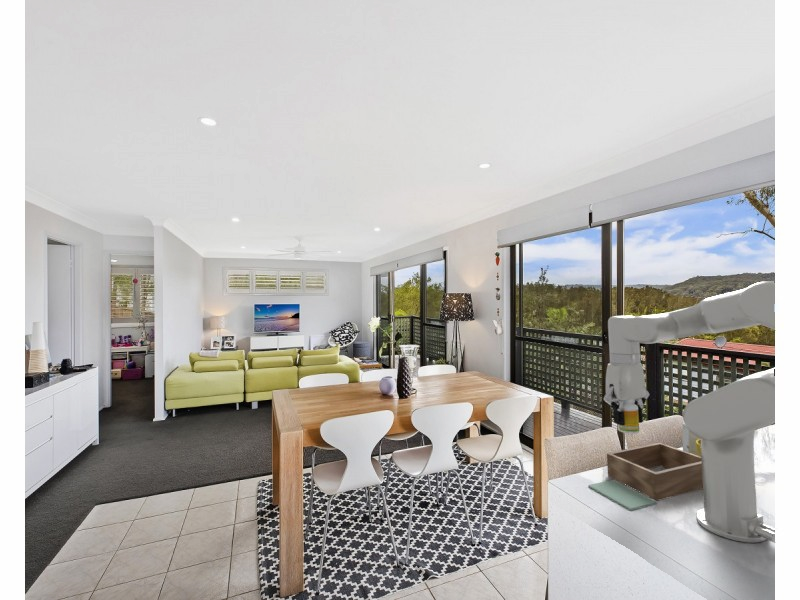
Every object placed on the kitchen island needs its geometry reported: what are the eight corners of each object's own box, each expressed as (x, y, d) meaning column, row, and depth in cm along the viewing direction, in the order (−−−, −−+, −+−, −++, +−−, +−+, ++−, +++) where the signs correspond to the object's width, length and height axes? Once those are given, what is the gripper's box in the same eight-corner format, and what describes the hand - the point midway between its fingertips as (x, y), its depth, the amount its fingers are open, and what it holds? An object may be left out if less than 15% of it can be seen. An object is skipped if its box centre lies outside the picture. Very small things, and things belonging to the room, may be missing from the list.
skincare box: (682, 457, 130) (680, 421, 130) (698, 458, 128) (696, 422, 128) (689, 465, 124) (687, 427, 124) (705, 466, 122) (703, 428, 122)
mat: (656, 503, 102) (656, 501, 102) (630, 510, 99) (630, 508, 99) (612, 481, 115) (612, 479, 115) (588, 486, 112) (588, 485, 112)
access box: (713, 485, 110) (712, 460, 110) (657, 500, 103) (655, 474, 103) (660, 464, 125) (659, 442, 125) (607, 476, 118) (606, 453, 118)
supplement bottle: (643, 434, 106) (641, 398, 107) (623, 434, 107) (621, 399, 107) (633, 427, 112) (631, 394, 112) (614, 428, 112) (612, 394, 112)
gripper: (637, 355, 115) (640, 415, 115) (589, 359, 111) (593, 422, 111) (660, 358, 108) (663, 423, 108) (610, 363, 104) (614, 430, 103)
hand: (628, 422), depth 109 cm, fingers closed on supplement bottle, 5 cm apart
